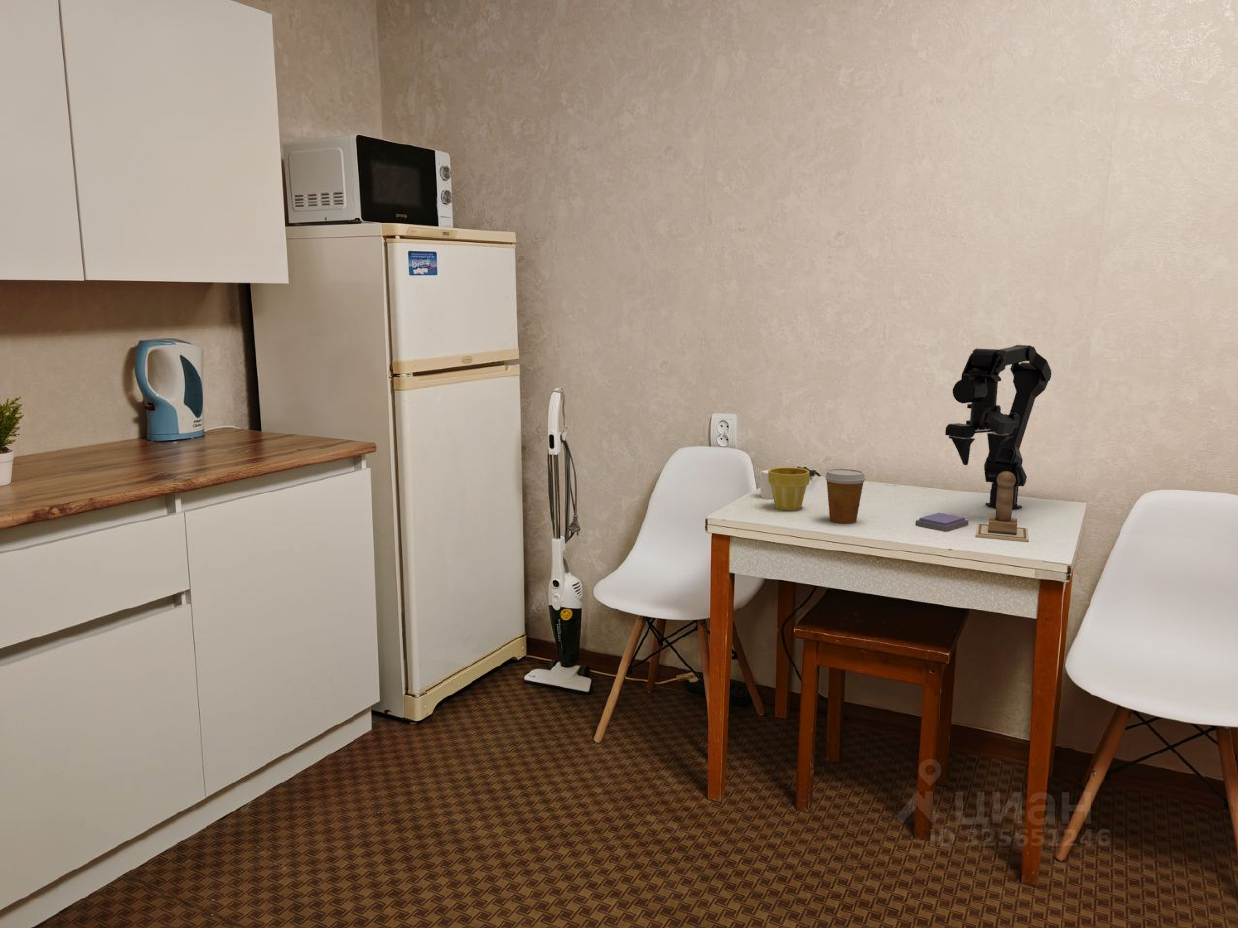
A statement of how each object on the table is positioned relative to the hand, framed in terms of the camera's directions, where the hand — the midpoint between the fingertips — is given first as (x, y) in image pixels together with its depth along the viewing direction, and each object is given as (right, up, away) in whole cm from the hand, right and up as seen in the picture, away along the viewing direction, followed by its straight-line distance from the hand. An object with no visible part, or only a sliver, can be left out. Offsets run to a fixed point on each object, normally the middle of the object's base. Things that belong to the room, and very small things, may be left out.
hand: (979, 463), depth 231 cm
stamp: (-1, -15, -16) cm, 22 cm away
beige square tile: (-1, -16, -16) cm, 23 cm away
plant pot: (-46, -12, +9) cm, 48 cm away
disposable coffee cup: (-35, -14, -4) cm, 38 cm away
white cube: (-48, -9, +22) cm, 53 cm away
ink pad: (-12, -15, -8) cm, 21 cm away
